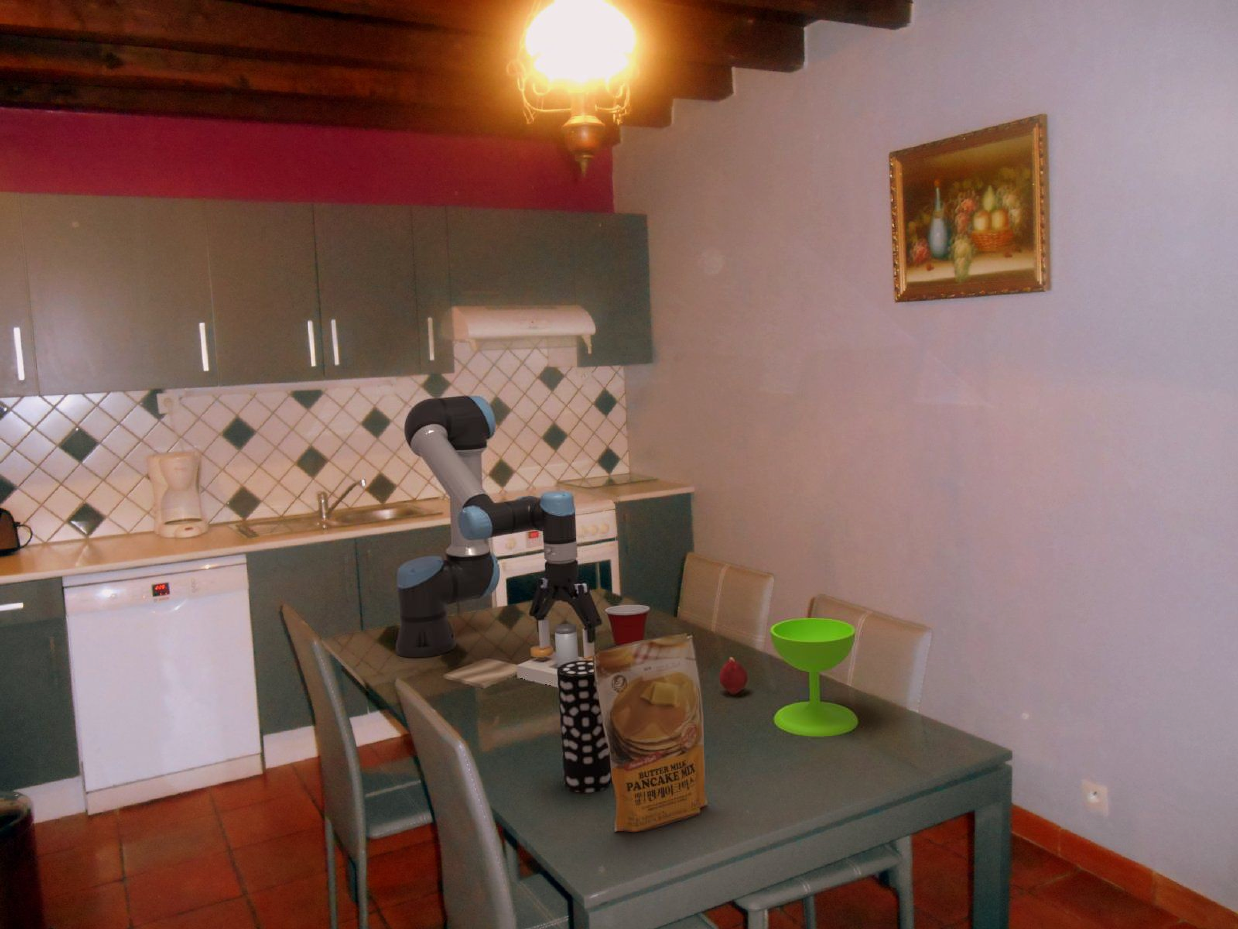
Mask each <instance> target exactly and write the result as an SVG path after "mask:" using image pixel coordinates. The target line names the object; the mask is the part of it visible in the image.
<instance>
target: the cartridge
mask: <svg viewBox="0 0 1238 929" xmlns="http://www.w3.org/2000/svg"><path fill="white" fill-rule="evenodd" d="M577 628H578V627H577V625H576V624H573V623H562V624H561V623H560V624H558V625H555V626H554V639H555V640H554V641H555V642H554V643H555V652H556V659H557V668H558V667H559V666H561V665H563V664H565V663H568V662H573V661H579V659H578V657H579V647H578V631H577V630H578V629H577Z"/></svg>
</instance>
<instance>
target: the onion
mask: <svg viewBox="0 0 1238 929" xmlns="http://www.w3.org/2000/svg"><path fill="white" fill-rule="evenodd" d="M718 677H719V683H720V685H721V686H722V687H723V688H724V689H725V690H726V691H727V692H729V694H730V695H732V696H733V695H737V694H738V693H739V692H741V691H742V690H743V689H744V688H745V687H746V685H747V684H748V675H747V671H746V670H745V668H744V667H743V665H742V664H741V663H740V662H738V661H736V659H734V657H732V656H729V659H728V662H727V663H725V664H724V665H723V666H722V668H721V669H720V672H719V676H718Z"/></svg>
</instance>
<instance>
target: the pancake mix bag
mask: <svg viewBox="0 0 1238 929" xmlns="http://www.w3.org/2000/svg"><path fill="white" fill-rule="evenodd" d="M695 645H696V644H695V639H694V636H693V635H688V632H687V631H685V632H684V631H683V632H680V631H679V632H676V633H672V634H671V633H670V634H666V635H663V636H660V637H654V638H649V639H644V640H641V641H637V642H632V643H628V644H625V645H620V646H616V645H615V646H612V647H609V648H606V649H603V650H599V651H598V652H597V653H596V654H595V656H594V657H593V658H592V659H593V669H594V677H595V685H596V690H597V694H598V697H599V704H600V710H601V717H602V724H603V729H604V733H605V737H606V741H607V744H608V748H609V752H610V763H611V775H612V785H613V789H614V794H615V802H616V803H615V804H616V812H615V813H616V814H615V822H614V829H613V832H614V833H616V832H622V831H623V832H629V833H637V832H643V831H647V830H650V829H654V828H657V827H662V826H664V825H668V824H671V823H674V822H677V821H680V820H681V821H682V820H685V819H689V818H690V817H694V816H695V817H696V816H697V815H700V814H701V809H702V808H704V807H705V806H706V805H708V801H707V797H706V791H705V784H706V783H705V780H706V778H705V776H706V775H705V774H706V772H705V770H706V769H705V768H706V767H705V765H706V764H705V746H704V745H705V744H704V743H705V742H704V741H705V740H704V739H705V738H704V736H705V733H704V732H705V730H704V729H705V728H704V727H705V726H704V720H705V718H704V715H705V714H704V709H703V690H702V689H703V688H702V684H701V683H702V682H701V676H700V670H699V665H698V656H697V649H696V646H695Z"/></svg>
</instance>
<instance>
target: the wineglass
mask: <svg viewBox="0 0 1238 929" xmlns="http://www.w3.org/2000/svg"><path fill="white" fill-rule="evenodd" d="M769 632H770V636H771V642H772V644H773V646H774V648H775V650H776V652H777V654H778V655H779V656H780V657H781V658H782V660H784V661H785V663H787V664H789V665H790V666H791V667H792V668H795V669H796V670H800V671H804V672H807V673H808V683H809V701H800V702H794V703H790V704H788V705H786V706H783V707H782V708H780V709H779V710H777V712H776V713H775V715H774V717H773V722H774V724H775V725H776V727H777V728H779V729H781V730H783V731H785V732H787V733H790V734H794V735H798V736H803V737H810V738H811V737H813V738H814V737H819V738H820V737H821V738H823V737H834V736H839V735H844V734H845V733H848V732H851V731H852V730H854V729H856V728H857V725H859V721H858V720H859V719H858V717H857V715H856V714H855V713H854V712H853V711H852V710H851V709H849V708H848V707H845V706H842V705H840V704H837V703H833V702H828V701H827V702H826V701H821V699H820V698H821V697H820V695H821V694H820V693H821V692H820V672H826V671H829V670H832V669H834V668H835V667H836V666H838V665H840V664H841V663H843V662H844V660H845V659H846V658H847V656H848V655H849V654H850V652H851V651H852V648H853V646H854V643H855V637H856V628H855V627H854V625H852V624H850V623H847V622H845V621H841V620H838V619H831V618H823V617H822V618H820V617H818V618H817V617H803V618H795V619H788V620H787V619H786V620H784V621H780V622H778V623H775V624H774V625H772V626H771V627H770V631H769Z"/></svg>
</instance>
